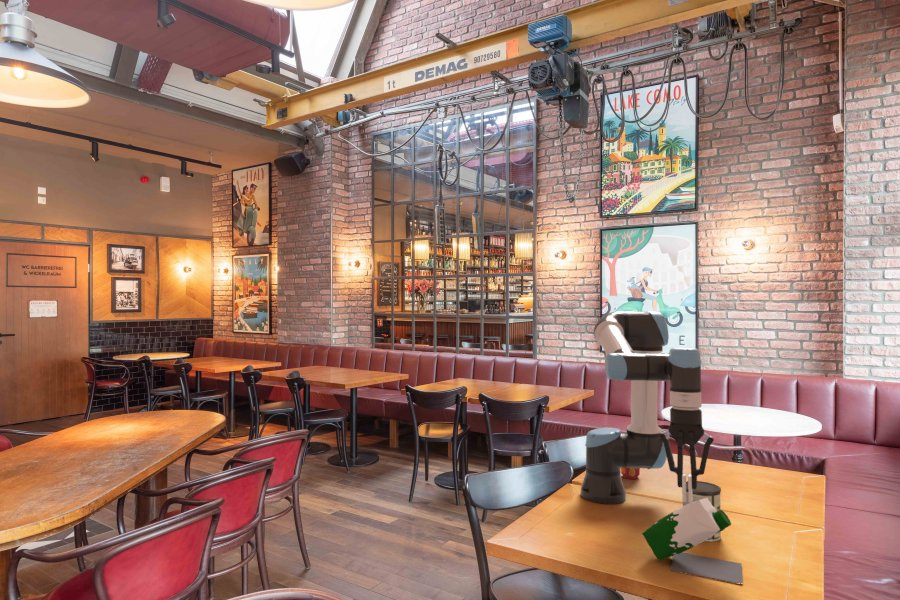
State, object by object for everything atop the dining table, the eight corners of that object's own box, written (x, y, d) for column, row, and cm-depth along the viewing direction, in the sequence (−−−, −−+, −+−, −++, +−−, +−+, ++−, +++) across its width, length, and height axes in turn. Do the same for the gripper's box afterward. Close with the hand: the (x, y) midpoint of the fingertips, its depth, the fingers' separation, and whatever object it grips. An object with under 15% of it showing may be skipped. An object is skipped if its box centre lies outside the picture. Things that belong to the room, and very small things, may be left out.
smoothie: (642, 475, 218) (642, 424, 218) (640, 481, 210) (640, 428, 211) (620, 472, 221) (620, 422, 222) (617, 478, 214) (617, 426, 214)
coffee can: (680, 525, 167) (680, 479, 168) (718, 530, 164) (718, 482, 164) (683, 539, 158) (683, 489, 158) (723, 544, 154) (723, 493, 155)
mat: (670, 570, 139) (670, 569, 139) (674, 552, 149) (674, 550, 149) (742, 585, 131) (742, 584, 131) (741, 564, 142) (741, 563, 142)
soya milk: (658, 564, 140) (727, 528, 132) (638, 530, 145) (703, 493, 137) (670, 559, 147) (736, 524, 139) (650, 526, 152) (713, 490, 144)
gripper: (655, 407, 143) (657, 501, 141) (715, 411, 137) (717, 508, 135) (658, 404, 149) (660, 493, 148) (715, 407, 143) (717, 500, 142)
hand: (687, 500), depth 142 cm, fingers closed
